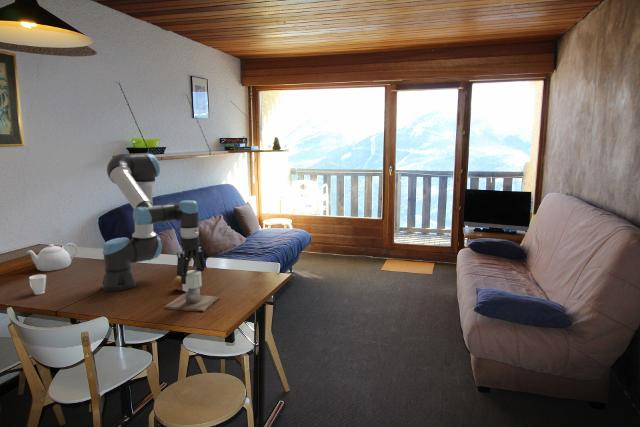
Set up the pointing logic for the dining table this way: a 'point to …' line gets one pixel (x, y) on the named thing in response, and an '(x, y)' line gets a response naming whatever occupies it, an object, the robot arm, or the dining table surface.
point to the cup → (38, 283)
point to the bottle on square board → (192, 301)
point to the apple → (178, 283)
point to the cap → (194, 279)
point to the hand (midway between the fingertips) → (192, 287)
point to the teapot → (52, 258)
